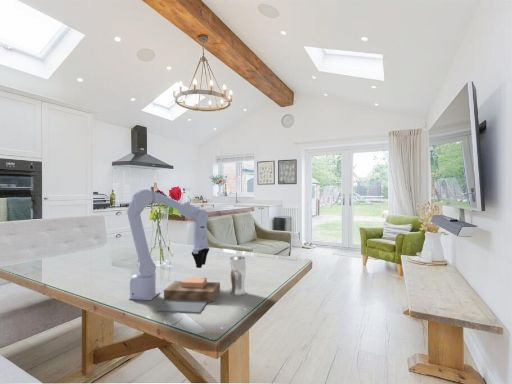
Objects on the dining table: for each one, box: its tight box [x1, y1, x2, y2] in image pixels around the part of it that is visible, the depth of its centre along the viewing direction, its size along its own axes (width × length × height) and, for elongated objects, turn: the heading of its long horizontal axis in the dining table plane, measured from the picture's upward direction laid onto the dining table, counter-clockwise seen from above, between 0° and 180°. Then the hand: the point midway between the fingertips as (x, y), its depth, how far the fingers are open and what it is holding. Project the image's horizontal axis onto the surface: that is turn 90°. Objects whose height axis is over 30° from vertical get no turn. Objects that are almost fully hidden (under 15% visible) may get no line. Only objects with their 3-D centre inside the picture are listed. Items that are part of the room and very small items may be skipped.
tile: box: [181, 277, 208, 288], centre depth 116 cm, size 9×6×2 cm, turn 83°
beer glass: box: [228, 255, 247, 297], centre depth 117 cm, size 7×7×15 cm
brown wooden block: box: [163, 280, 221, 303], centre depth 114 cm, size 20×11×4 cm, turn 83°
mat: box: [156, 299, 209, 314], centre depth 104 cm, size 16×10×1 cm, turn 83°
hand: (200, 266), depth 125 cm, fingers open, 4 cm apart
